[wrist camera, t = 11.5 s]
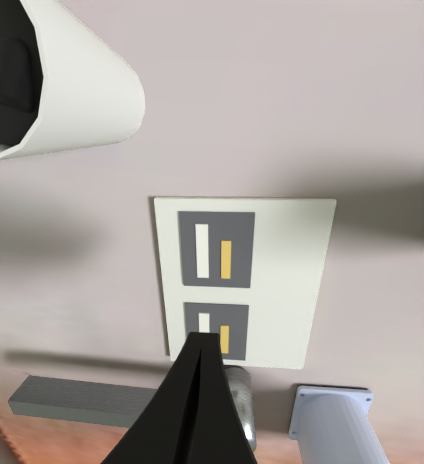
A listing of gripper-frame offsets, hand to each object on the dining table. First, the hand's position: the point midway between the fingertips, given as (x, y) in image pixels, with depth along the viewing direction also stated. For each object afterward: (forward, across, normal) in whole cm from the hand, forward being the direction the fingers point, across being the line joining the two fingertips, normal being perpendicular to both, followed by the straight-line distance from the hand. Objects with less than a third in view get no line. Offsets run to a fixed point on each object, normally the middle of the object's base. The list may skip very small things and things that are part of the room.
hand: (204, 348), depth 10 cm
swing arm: (+10, +8, +15) cm, 20 cm away
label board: (+10, -2, +4) cm, 12 cm away
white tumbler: (+11, +8, -12) cm, 18 cm away
